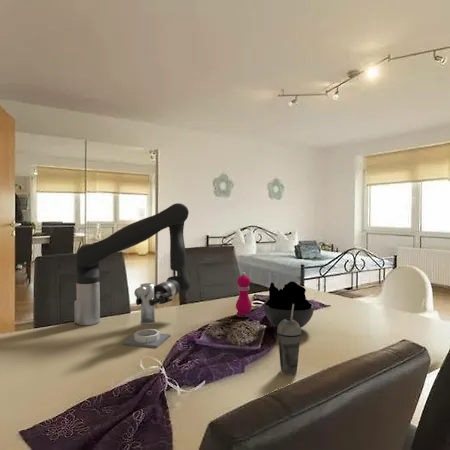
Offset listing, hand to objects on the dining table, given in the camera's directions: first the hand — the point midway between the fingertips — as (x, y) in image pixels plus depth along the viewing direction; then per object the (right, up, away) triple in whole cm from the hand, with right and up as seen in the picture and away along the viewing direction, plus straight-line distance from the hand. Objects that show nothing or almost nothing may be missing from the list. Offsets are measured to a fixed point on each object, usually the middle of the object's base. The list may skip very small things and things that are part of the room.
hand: (144, 302), depth 131 cm
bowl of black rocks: (+54, -14, +16) cm, 58 cm away
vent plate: (0, -14, +3) cm, 15 cm away
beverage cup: (+48, -15, -23) cm, 55 cm away
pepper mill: (+37, -14, +35) cm, 53 cm away
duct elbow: (0, -8, +1) cm, 8 cm away
